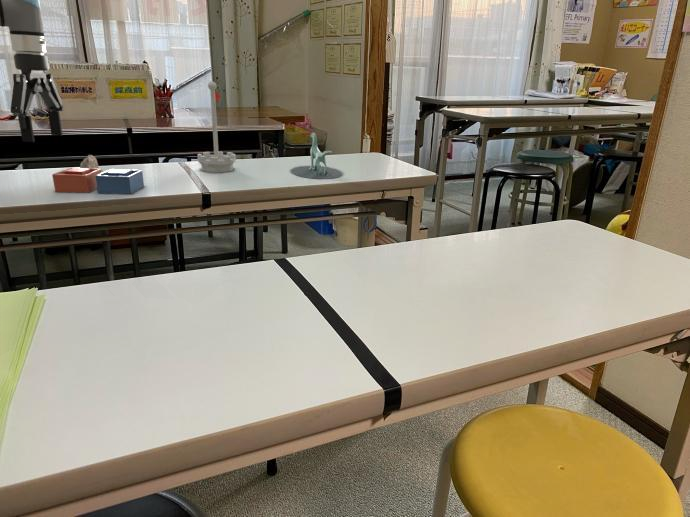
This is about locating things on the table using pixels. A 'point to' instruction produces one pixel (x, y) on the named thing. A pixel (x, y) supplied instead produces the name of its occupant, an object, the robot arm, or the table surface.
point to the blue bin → (119, 182)
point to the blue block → (120, 172)
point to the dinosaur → (316, 165)
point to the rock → (90, 163)
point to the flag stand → (215, 143)
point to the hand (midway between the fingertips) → (43, 138)
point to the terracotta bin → (75, 181)
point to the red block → (78, 171)
